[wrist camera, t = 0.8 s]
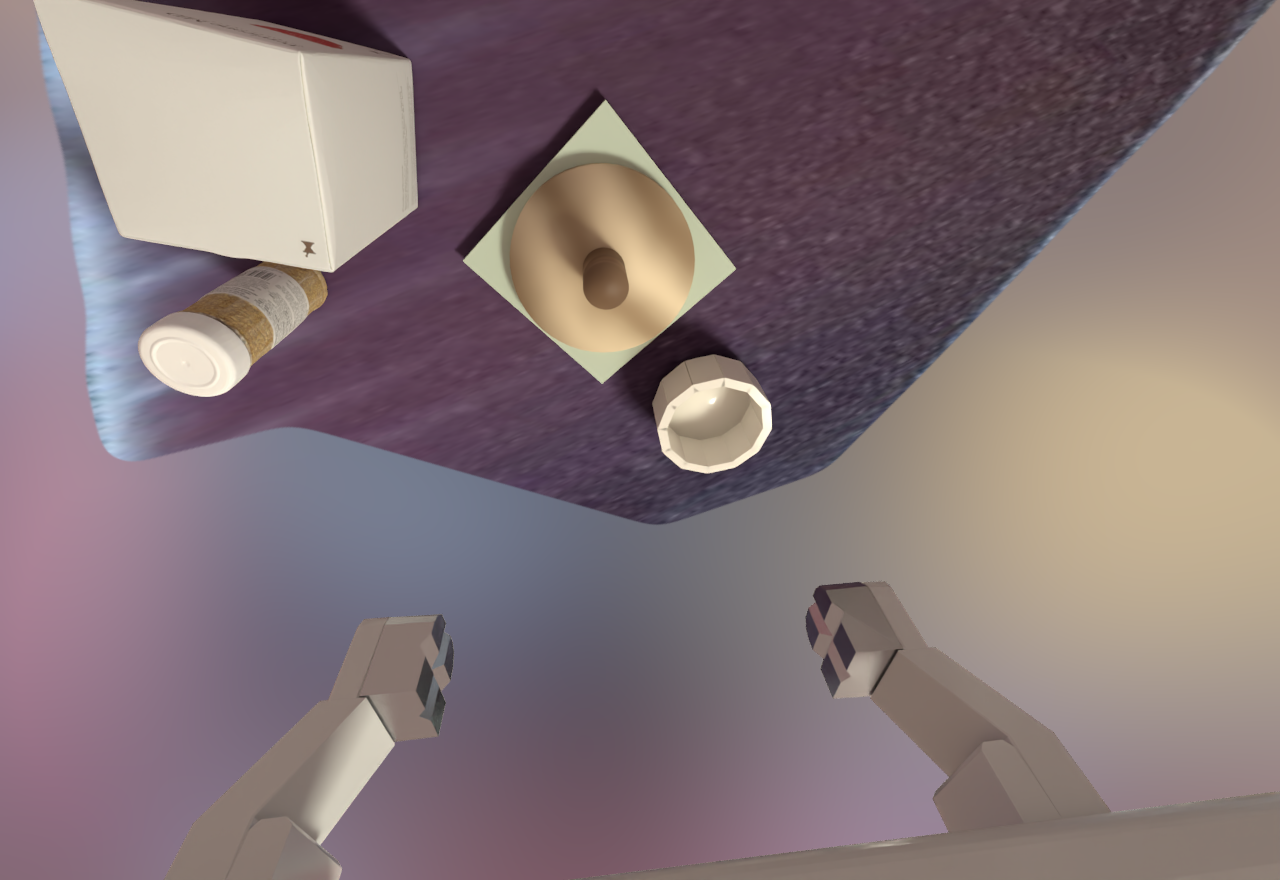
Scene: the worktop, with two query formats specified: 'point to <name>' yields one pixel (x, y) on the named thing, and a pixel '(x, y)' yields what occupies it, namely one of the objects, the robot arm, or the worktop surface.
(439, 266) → the worktop surface
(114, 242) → the worktop surface
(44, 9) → the supplement box
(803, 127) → the worktop surface
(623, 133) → the mat
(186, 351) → the sprinkles bottle
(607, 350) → the lid
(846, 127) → the worktop surface
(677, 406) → the bowl
